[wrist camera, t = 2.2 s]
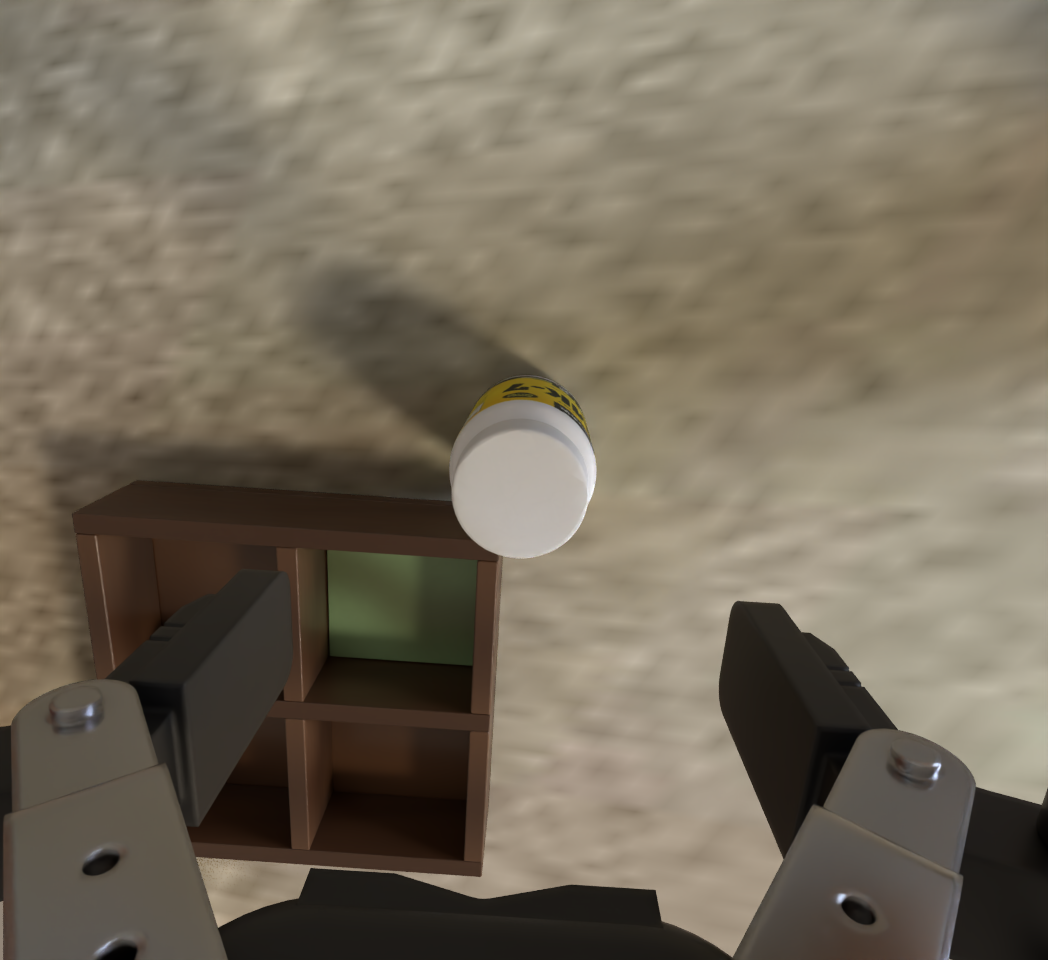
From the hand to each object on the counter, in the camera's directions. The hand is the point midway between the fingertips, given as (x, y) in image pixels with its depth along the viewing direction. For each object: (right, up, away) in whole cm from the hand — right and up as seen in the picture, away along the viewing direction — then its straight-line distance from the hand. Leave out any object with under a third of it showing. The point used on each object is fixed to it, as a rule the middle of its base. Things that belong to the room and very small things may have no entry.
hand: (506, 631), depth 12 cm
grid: (-9, -5, +18) cm, 21 cm away
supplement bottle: (0, +5, +15) cm, 16 cm away
